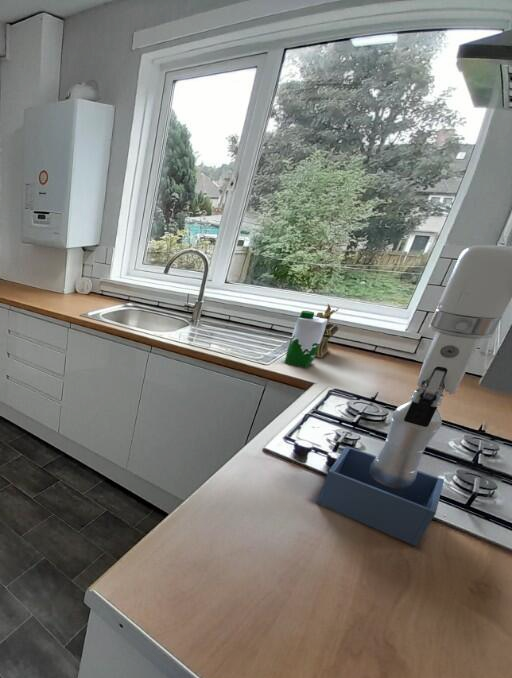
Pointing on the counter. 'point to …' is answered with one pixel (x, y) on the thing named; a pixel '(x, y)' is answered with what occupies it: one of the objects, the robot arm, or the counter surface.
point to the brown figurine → (326, 331)
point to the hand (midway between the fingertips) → (418, 416)
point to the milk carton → (305, 339)
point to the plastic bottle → (403, 448)
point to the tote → (380, 497)
